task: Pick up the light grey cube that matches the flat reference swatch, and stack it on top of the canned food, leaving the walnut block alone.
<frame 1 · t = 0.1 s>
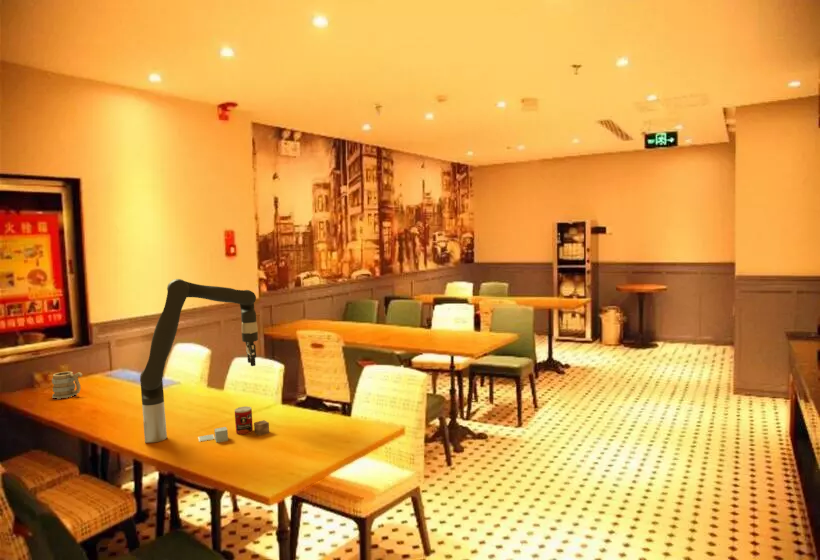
hand: (251, 364, 285), 29 cm above the table, tool pointing down, fingers open, 8 cm apart
light grey cube: (221, 440, 265), on the table
canned food: (244, 432, 275), on the table
tankard: (69, 396, 352), on the table
walnut block: (262, 433, 272), on the table
reference swatch: (206, 438, 268), on the table
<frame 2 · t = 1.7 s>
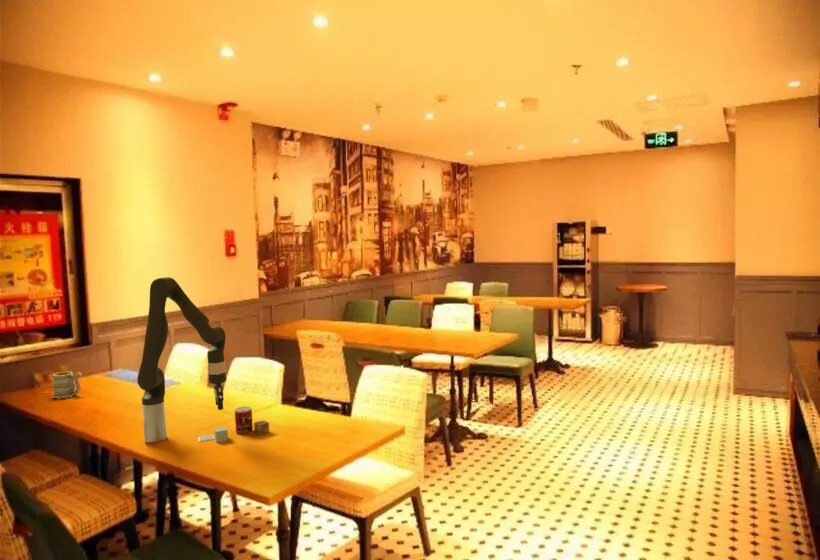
hand: (219, 407, 264), 15 cm above the table, tool pointing down, fingers open, 8 cm apart
nothing on the table moved.
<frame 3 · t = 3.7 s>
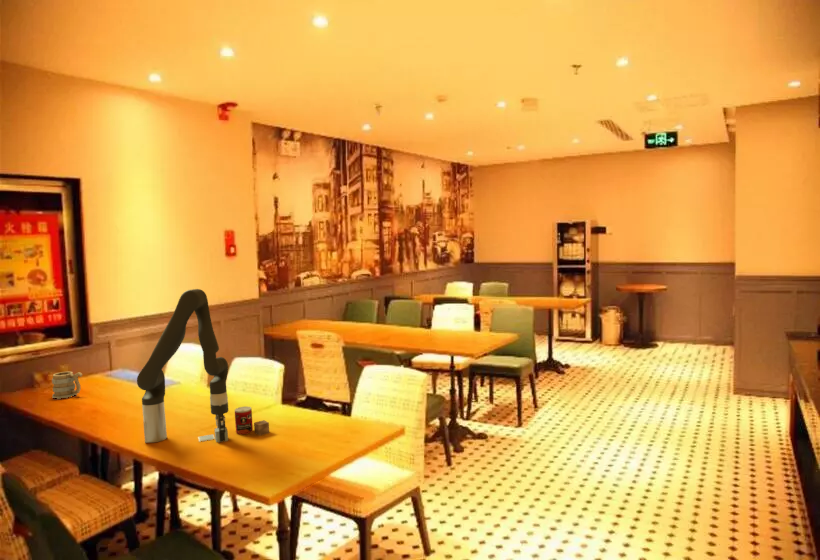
hand: (221, 438, 265), 0 cm above the table, tool pointing down, fingers closed on light grey cube, 5 cm apart
light grey cube: (221, 440, 265), on the table, touching gripper
everything else where it was.
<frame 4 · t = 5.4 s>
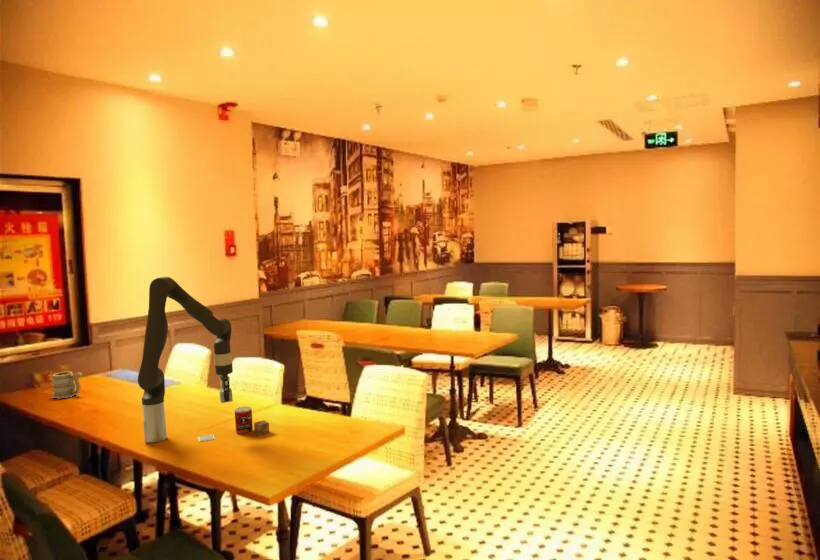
hand: (226, 399, 266), 18 cm above the table, tool pointing down, fingers closed on light grey cube, 5 cm apart
light grey cube: (226, 400, 266), point 17 cm above the table, touching gripper
everything else where it was.
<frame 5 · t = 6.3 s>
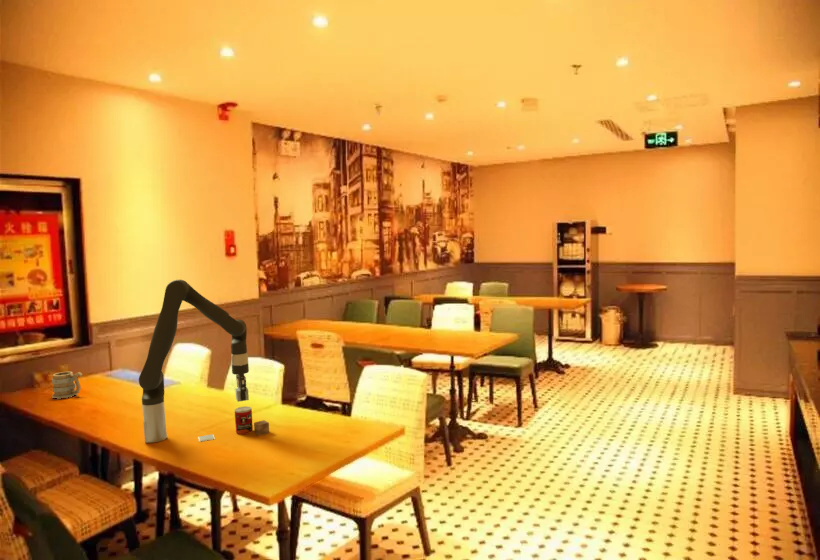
hand: (242, 398, 273), 16 cm above the table, tool pointing down, fingers closed on light grey cube, 5 cm apart
light grey cube: (242, 399, 274), point 15 cm above the table, touching gripper
everything else where it was.
when the fingers open (13 cm above the table, at t = 7.2 s): light grey cube drops 1 cm, resting on canned food.
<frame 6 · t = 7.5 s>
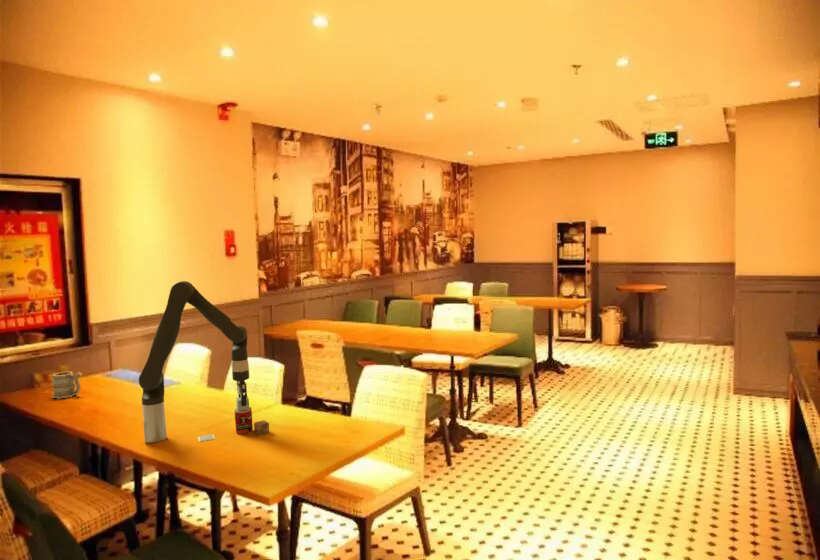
hand: (242, 403, 274), 14 cm above the table, tool pointing down, fingers open, 8 cm apart
light grey cube: (243, 409, 274), point 11 cm above the table, touching canned food
canned food: (244, 432, 275), on the table, touching light grey cube
everything else where it was.
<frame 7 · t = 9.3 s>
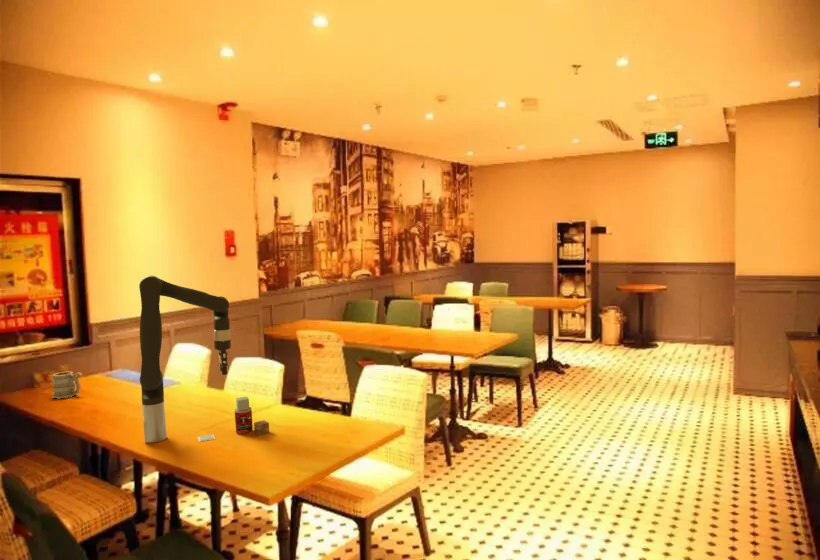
hand: (223, 372, 278), 27 cm above the table, tool pointing down, fingers open, 8 cm apart
nothing on the table moved.
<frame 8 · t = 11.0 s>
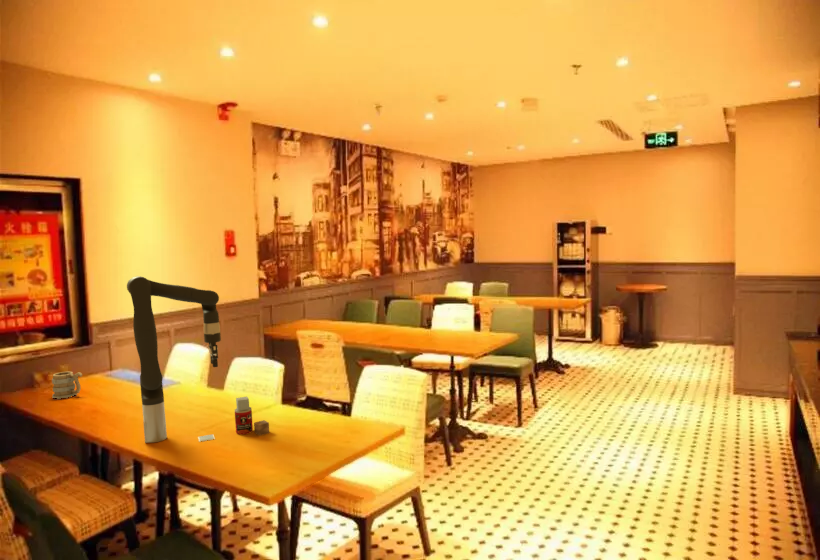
hand: (214, 365, 282), 30 cm above the table, tool pointing down, fingers open, 8 cm apart
nothing on the table moved.
at the end: light grey cube 0.1 cm off-centre on the canned food, point 11.2 cm above the canned food's base; light grey cube tilted 0°; walnut block moved 0.1 cm from its start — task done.
